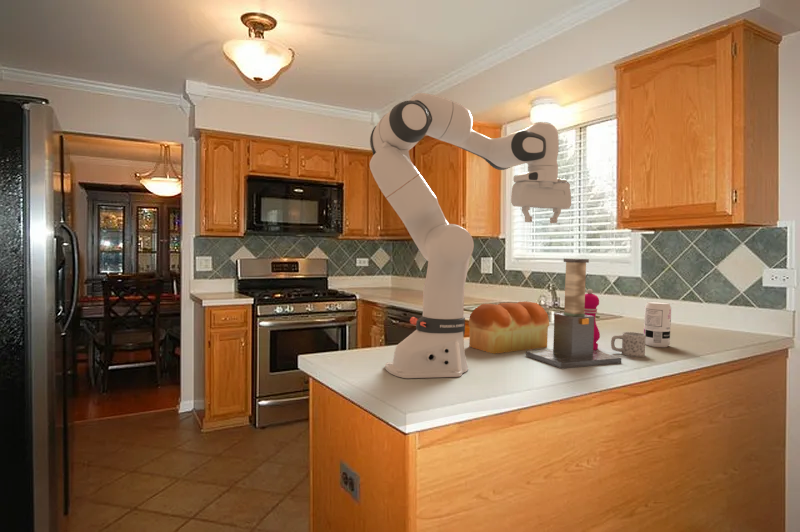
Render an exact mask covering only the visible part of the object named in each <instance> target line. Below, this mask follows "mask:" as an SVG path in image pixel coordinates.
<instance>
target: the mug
mask: <svg viewBox="0 0 800 532" xmlns="http://www.w3.org/2000/svg"><path fill="white" fill-rule="evenodd" d="M618 339H619V340H621V341H622V343H621V347H616V346H615V341H616V340H618ZM645 339H646V335H645V334H644V333H642V332H634V331H632V332H631V331H624V332H622V334H618V335H613V336H611V341H610V346H611V347H610V348H611V349H612V350H613V351H615V352H620V353H621V354H622V355H624V356H628V357H634V358H642V357H645V356H646V344H645Z"/></svg>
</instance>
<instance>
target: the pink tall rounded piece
mask: <svg viewBox="0 0 800 532" xmlns="http://www.w3.org/2000/svg"><path fill="white" fill-rule="evenodd" d="M586 292H587V293H585V307H584V314H585V315H590V316H594V341H593V350H595V351H597V350H598V349H599V343H598V341H599V340H600V337H601V335H600V329H599V327H598V325H597V321H596V314H597V313H598V308H597V307H598V306H599V305H600V299H599V297H598V296H597V295H596V294H593V293H594V292H593V289H592V288H588V289H587V291H586Z"/></svg>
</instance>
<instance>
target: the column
mask: <svg viewBox="0 0 800 532" xmlns="http://www.w3.org/2000/svg"><path fill="white" fill-rule="evenodd" d="M563 263H565V281H564V283H565V285H564V311H563V313H564V315H569V316H585V314H584V307H585V294H586V278H587V277H586V274H587V263H588V264H589V263H590V260H589V258H563Z"/></svg>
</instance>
